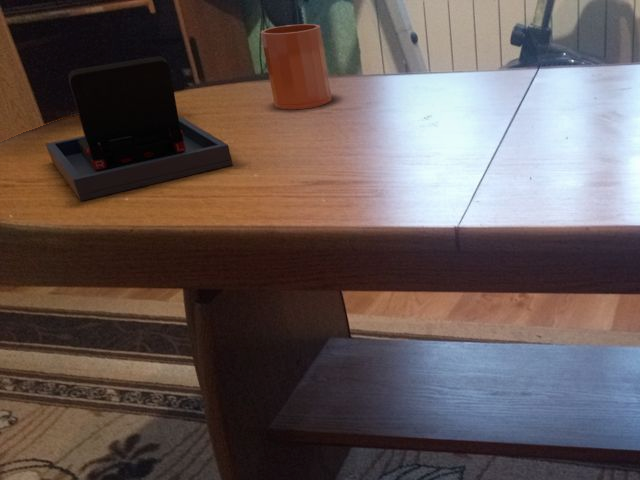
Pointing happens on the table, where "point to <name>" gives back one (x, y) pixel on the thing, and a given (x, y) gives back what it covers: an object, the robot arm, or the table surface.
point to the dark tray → (139, 164)
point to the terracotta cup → (296, 66)
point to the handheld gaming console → (126, 112)
